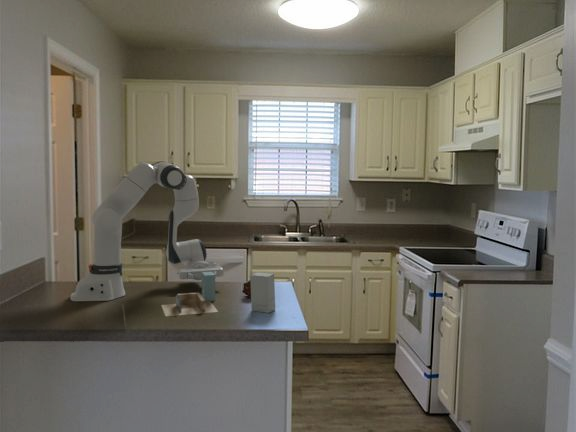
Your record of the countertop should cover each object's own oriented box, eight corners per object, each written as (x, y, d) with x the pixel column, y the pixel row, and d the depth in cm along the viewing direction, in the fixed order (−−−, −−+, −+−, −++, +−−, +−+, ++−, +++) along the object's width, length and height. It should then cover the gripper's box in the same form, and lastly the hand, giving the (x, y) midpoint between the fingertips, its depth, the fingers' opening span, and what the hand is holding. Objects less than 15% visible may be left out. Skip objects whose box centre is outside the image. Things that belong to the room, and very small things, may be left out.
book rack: (165, 318, 186) (165, 304, 185) (161, 307, 201) (161, 294, 200) (218, 314, 193) (218, 300, 192) (210, 303, 208) (210, 290, 207)
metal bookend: (179, 312, 190) (179, 301, 190) (175, 306, 200) (175, 295, 199) (181, 312, 191) (181, 301, 190) (177, 305, 200) (177, 294, 200)
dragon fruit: (247, 304, 213) (253, 300, 225) (263, 293, 213) (268, 290, 225) (236, 287, 215) (243, 285, 226) (252, 276, 214) (258, 274, 226)
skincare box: (275, 310, 200) (275, 273, 198) (268, 313, 194) (268, 276, 193) (257, 307, 203) (257, 271, 202) (249, 310, 198) (250, 274, 197)
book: (204, 303, 207) (204, 275, 206) (201, 299, 214) (201, 272, 213) (215, 303, 209) (215, 274, 208) (212, 298, 215) (212, 271, 214)
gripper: (176, 265, 231) (180, 271, 218) (219, 262, 238) (226, 268, 225) (176, 278, 232) (180, 285, 219) (219, 275, 239) (226, 281, 226)
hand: (203, 276), depth 222 cm, fingers open, 8 cm apart
